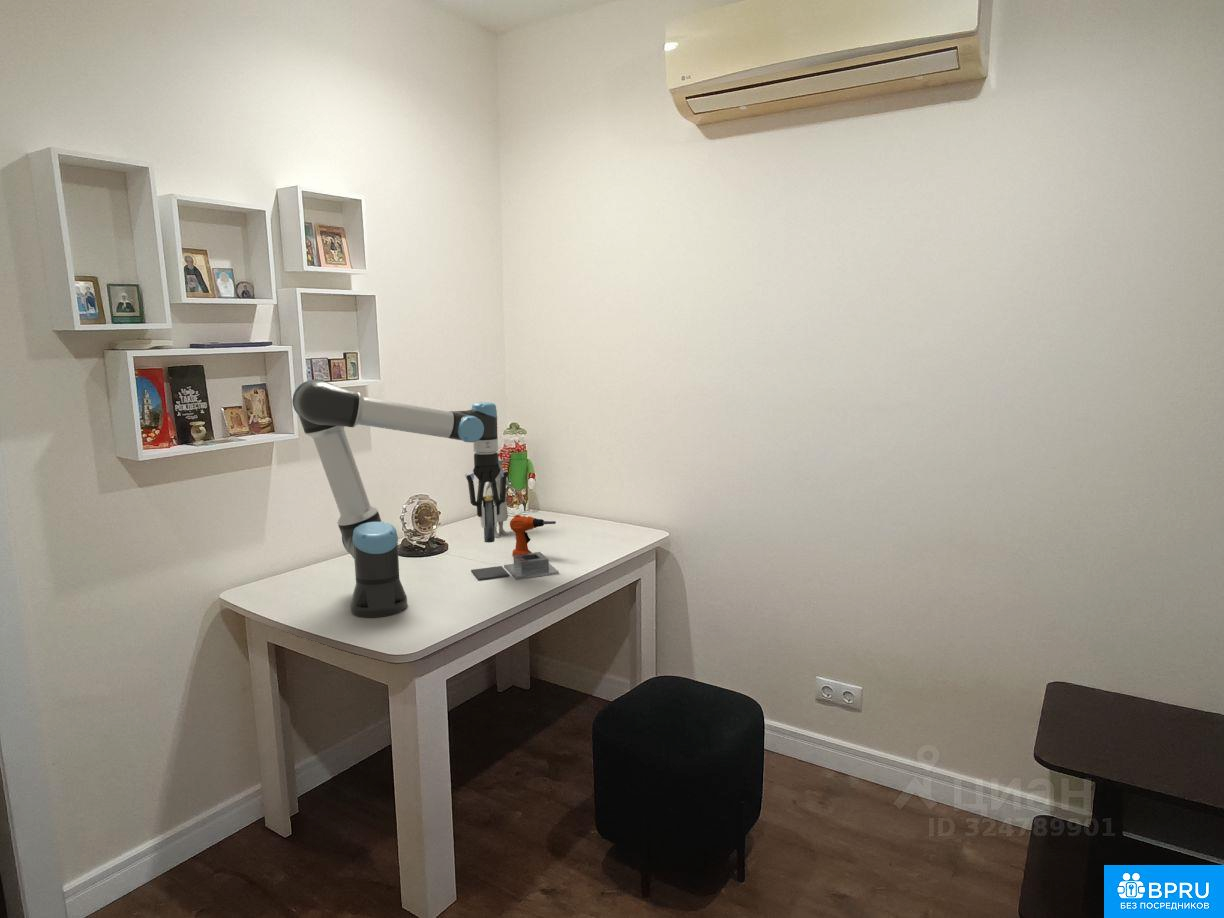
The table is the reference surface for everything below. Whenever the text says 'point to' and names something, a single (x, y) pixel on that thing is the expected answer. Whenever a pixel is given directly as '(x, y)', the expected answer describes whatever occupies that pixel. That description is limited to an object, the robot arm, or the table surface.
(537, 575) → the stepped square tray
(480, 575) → the mat
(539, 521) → the toy drill
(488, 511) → the gold capped cylinder
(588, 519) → the table surface
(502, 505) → the character figure
